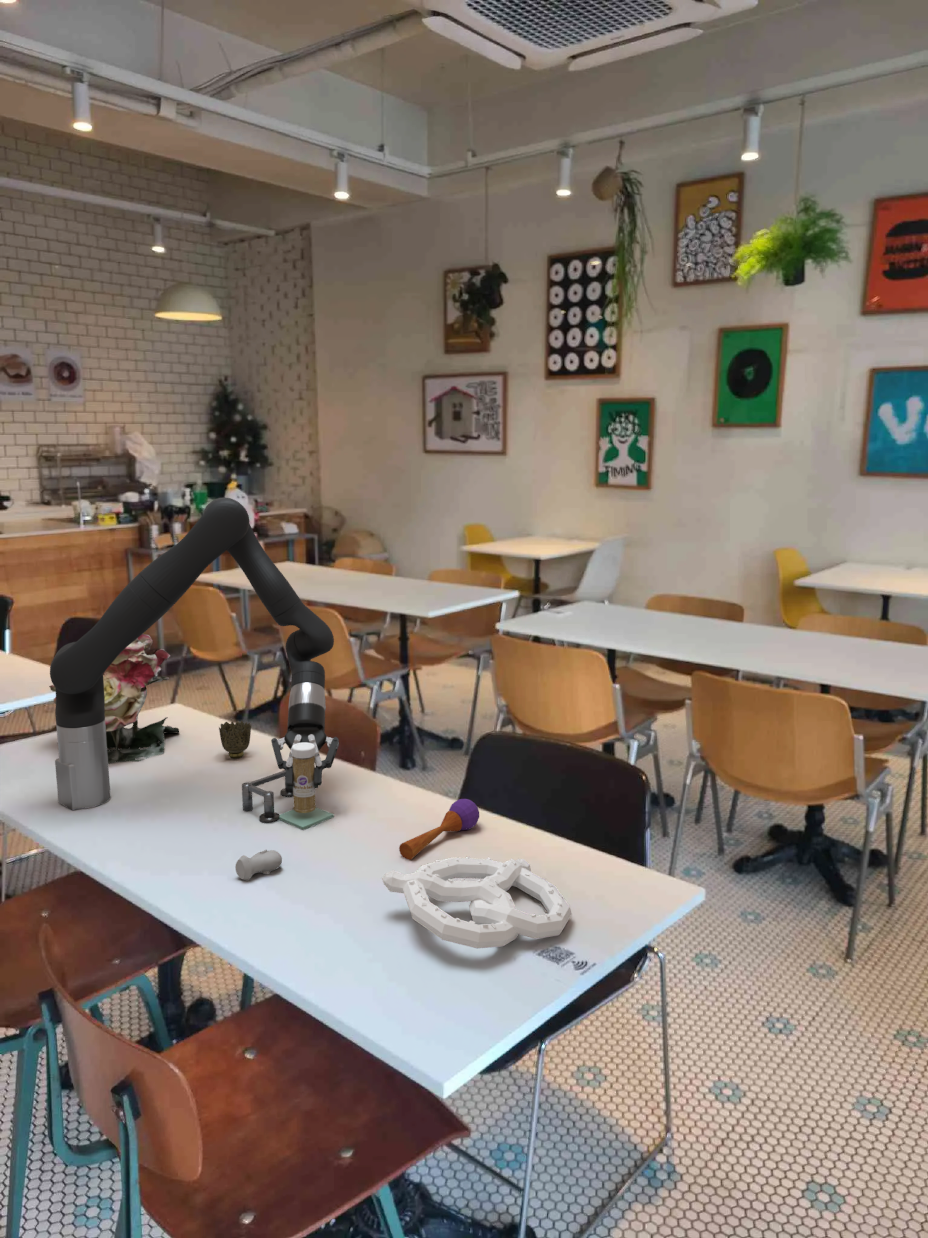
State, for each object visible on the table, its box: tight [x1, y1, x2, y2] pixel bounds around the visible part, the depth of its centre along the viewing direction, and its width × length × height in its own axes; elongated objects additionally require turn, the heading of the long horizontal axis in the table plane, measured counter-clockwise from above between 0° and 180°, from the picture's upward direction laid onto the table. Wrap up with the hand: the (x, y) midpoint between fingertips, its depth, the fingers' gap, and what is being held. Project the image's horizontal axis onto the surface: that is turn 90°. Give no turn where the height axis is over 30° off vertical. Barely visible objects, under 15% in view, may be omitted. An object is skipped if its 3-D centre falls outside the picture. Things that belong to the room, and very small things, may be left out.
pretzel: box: [381, 855, 573, 949], centre depth 139 cm, size 28×24×6 cm
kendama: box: [398, 798, 480, 861], centre depth 166 cm, size 6×6×20 cm
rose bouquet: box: [48, 633, 180, 765], centre depth 210 cm, size 26×29×30 cm
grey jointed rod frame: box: [241, 769, 294, 824], centre depth 181 cm, size 15×11×6 cm
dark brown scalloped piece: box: [218, 720, 252, 760], centre depth 208 cm, size 8×7×8 cm
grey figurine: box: [234, 849, 283, 881], centre depth 153 cm, size 4×8×5 cm
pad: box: [278, 806, 335, 831], centre depth 176 cm, size 8×8×1 cm
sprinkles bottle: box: [292, 742, 317, 813], centre depth 174 cm, size 5×5×13 cm
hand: (303, 786), depth 173 cm, fingers closed on sprinkles bottle, 4 cm apart
